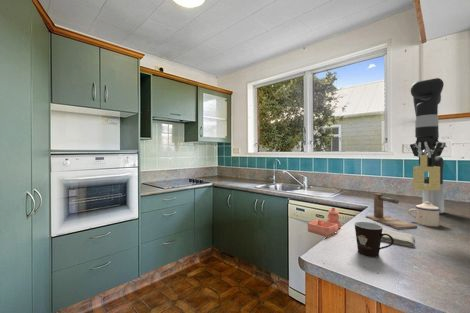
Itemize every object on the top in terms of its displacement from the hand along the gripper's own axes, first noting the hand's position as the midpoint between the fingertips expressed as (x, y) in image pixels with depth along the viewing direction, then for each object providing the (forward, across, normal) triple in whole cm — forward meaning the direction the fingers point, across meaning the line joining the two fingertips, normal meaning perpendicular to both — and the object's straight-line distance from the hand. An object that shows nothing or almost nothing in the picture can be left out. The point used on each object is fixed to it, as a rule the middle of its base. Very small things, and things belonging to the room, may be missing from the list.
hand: (426, 166), depth 94 cm
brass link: (+10, 0, 0) cm, 10 cm away
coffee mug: (+30, -12, +37) cm, 49 cm away
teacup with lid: (+31, +15, -16) cm, 37 cm away
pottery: (+31, +14, +38) cm, 51 cm away
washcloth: (+31, +1, +18) cm, 36 cm away
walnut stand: (+30, +18, 0) cm, 35 cm away
